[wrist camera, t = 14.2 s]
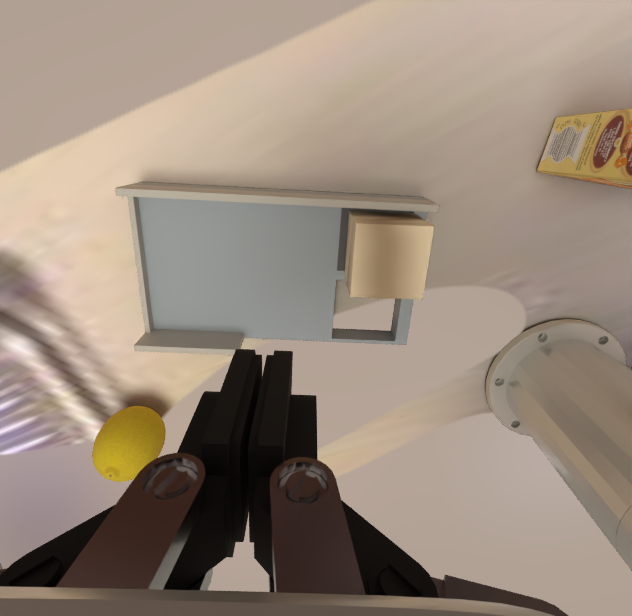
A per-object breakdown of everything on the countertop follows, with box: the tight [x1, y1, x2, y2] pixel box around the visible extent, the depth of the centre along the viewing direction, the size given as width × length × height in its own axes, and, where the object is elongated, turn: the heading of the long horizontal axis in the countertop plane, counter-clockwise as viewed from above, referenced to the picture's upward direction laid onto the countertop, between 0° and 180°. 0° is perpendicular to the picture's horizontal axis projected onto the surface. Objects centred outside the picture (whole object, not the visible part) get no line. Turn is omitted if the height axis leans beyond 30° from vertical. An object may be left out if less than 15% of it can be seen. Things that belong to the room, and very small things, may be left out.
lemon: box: [92, 406, 165, 482], centre depth 35 cm, size 6×6×8 cm
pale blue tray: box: [115, 182, 439, 355], centre depth 31 cm, size 22×12×5 cm, turn 87°
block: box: [345, 211, 434, 299], centre depth 28 cm, size 5×5×5 cm
